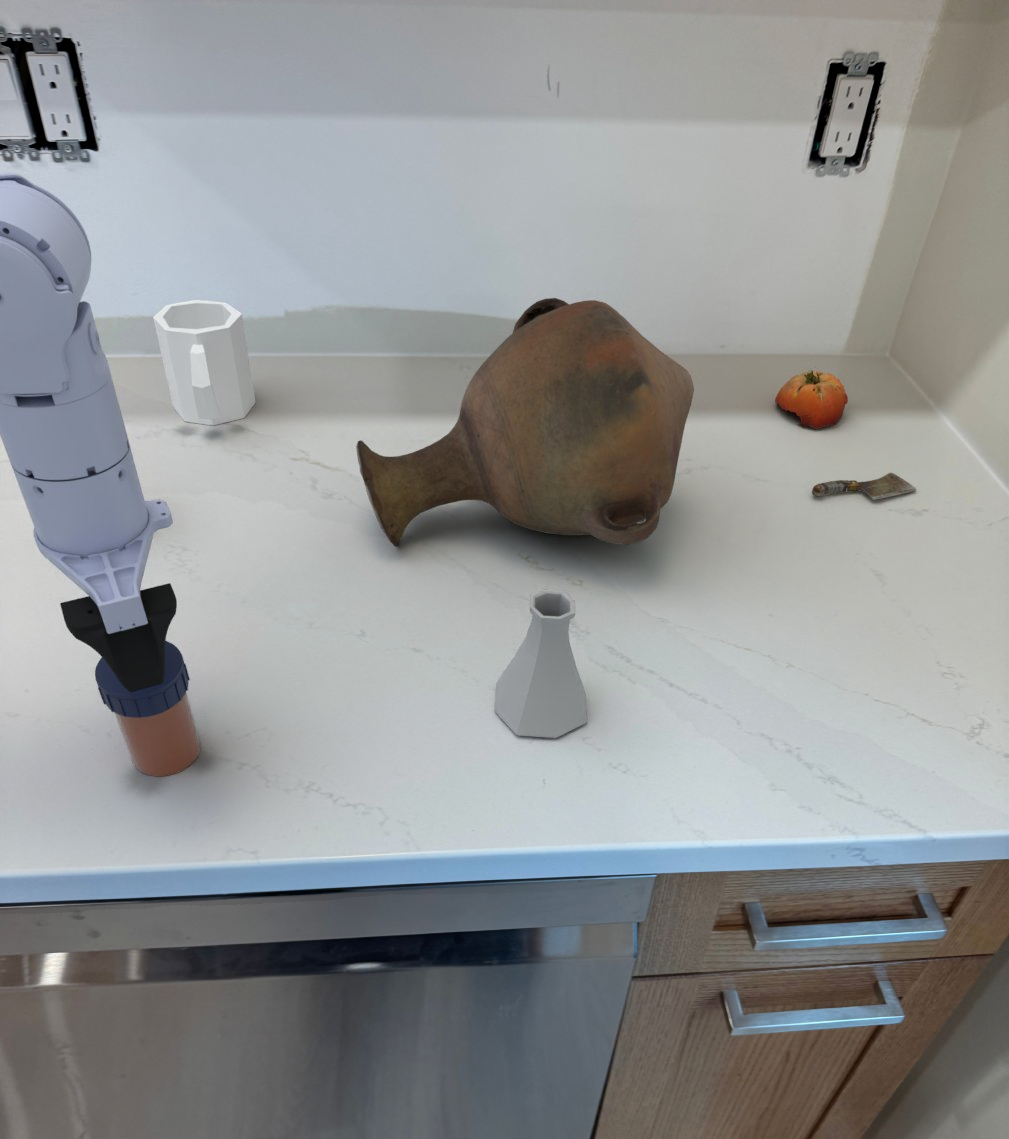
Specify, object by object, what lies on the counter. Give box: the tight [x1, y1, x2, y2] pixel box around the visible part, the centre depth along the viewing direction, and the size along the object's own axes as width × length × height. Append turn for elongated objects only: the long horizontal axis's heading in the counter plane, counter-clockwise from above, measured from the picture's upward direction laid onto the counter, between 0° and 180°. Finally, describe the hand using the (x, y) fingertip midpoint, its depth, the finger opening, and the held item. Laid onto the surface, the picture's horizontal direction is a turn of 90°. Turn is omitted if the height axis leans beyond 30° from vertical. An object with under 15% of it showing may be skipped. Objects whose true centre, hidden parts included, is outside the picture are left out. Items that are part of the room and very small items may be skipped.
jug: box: [355, 297, 695, 547], centre depth 78 cm, size 20×20×30 cm
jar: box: [113, 691, 202, 777], centre depth 59 cm, size 5×5×8 cm
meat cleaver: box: [811, 472, 917, 500], centre depth 91 cm, size 12×1×5 cm
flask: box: [494, 588, 588, 739], centre depth 64 cm, size 7×7×10 cm
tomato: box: [774, 367, 849, 430], centre depth 102 cm, size 8×7×7 cm
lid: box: [94, 640, 191, 718], centre depth 57 cm, size 5×5×2 cm
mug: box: [152, 299, 256, 426], centre depth 92 cm, size 12×9×10 cm
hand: (133, 646), depth 55 cm, fingers open, 7 cm apart
